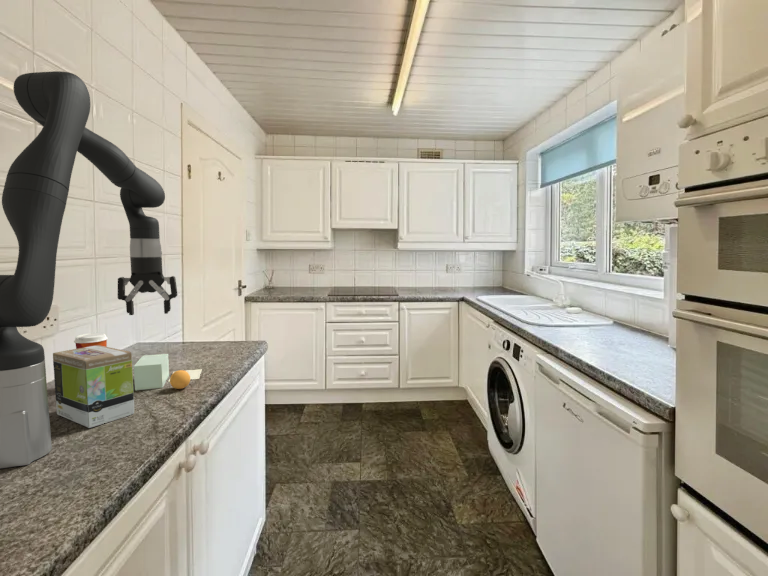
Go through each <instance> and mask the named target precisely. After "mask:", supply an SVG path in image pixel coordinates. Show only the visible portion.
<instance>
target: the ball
mask: <svg viewBox="0 0 768 576" xmlns="http://www.w3.org/2000/svg"><path fill="white" fill-rule="evenodd" d="M173 372H174V371H173ZM173 372H172V373H173ZM169 379H170V382H169V383H170V386H172V388H174V389H176V390H183V389H185V388H187V386H189V384H190V382H191V380H190V375H189V374H188V372H186V370H183V369H179V370H176V372H174V373H173V374H171V375H170V376H169Z"/></svg>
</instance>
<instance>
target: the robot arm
mask: <svg viewBox="0 0 768 576" xmlns="http://www.w3.org/2000/svg"><path fill="white" fill-rule="evenodd" d="M13 94H14V97H15V99H16V101H17V103H18V105H19V106H20V107H21V109H22V110H23V112H25V113H26V114H27V115H28V116H29V117H30V118H31V119H32V120H34V121H35V122H36V123H38V124H39V125H41V126H42V129H41V131H40V132H39V133H38V135H37V136H36V137H35V138H34V139H33V140H32V141H31V142H30V143H29V144H28V145H27V146H26V147H25V148H24V149H23V150H22V151H21V152H20V153H19V155H17V157H16V158H15V159H14V161H13V162H12V163H11V165H10V166H9V169H8V170H7V174H6V178H5V182H4V185H3V190H2V196H1V205H2V209H3V212H4V215H5V217H6V219H7V221H8V224H9V226H10V227H11V229H12V231H13V232H14V235H15V237H16V240H17V244H18V255H17V256H18V257H17V263H16V266H15V271H14V274H0V469H6V468H7V469H8V468H13V467H19V466H20V467H21V466H22V467H23V466H26V465H30V464H31V463H32V462H33V461H36V460H38V459H40V458H42V457H44V456H45V455H47V454H49V453H50V452H51V451H52V449H53V448H52V446H53V445H52V444H53V443H52V434H51V433H52V431H51V423H50V410H49V399H48V397H49V396H48V384H47V371H46V369H47V368H46V359H45V358H46V357H45V349H44V346H43V345H41V344H40V343H38V342H37V341H34V340H31V339H29V338H27V337H25V336H24V335H22V334H21V332H19V331H18V328H29V327H36V326H39V325H40V324H42V323H43V321H45V320H46V318H47V317H48V315H49V314H50V311H51V308H52V304H53V299H54V293H55V291H54V290H55V283H56V282H55V281H56V267H57V254H58V246H59V239H60V234H61V229H62V224H63V219H64V214H65V211H66V207H67V200H68V196H69V192H70V184H71V178H72V174H73V169H74V165H75V161H76V156H77V152H78V153H79V154H80V155H82V156H83V157H84V158H86V160H88V161H89V162H90V163H91V164H92V165H94V166H95V168H97V170H99V172H100V173H102V174H103V175H104V176H105V178H107V179H108V180H109V181H110V182H111V184H113V185H114V186H116V187H118V188H119V189H120V190H119V197H120V201H121V204H122V206H123V209H124V212H125V216H126V218H127V221H128V224H129V238H130V239H129V257H130V277H125V276H120V277H118V278H117V299H118V300H121V301H124V302H125V306H126V307H125V309H126V314H128V315H129V316H133V315H135V307H134V305H135V303H134V300H133V299H134V298H135V297H136V295H138V293H141V294H145V293H156V292H157V294H159V295H160V296H161V297H162V298H163V299H164V300H163V310H164V311H163V312H164V314H165V315H167V314H169V312H170V311H171V308H172V307H171V306H172V305H171V300H172V299H175V298H177V297H178V288H177V279H176V278H177V277H176V276H174V275H171V276H166V277H165V276H164V274H163V259H162V258H163V251H162V245H161V238H160V224H159V222H160V221H159V220H158V219H157V218H155V217H153V216H148V215H146V214H145V213H144V211H143V209H145V208H148V209H153V208H154V209H155V208H159V207H160V206H162V205H163V204H164V202H165V200H166V194H165V191H164V188H163V187H162V185H161V184H160V183H159V182H158V181H157V180H156V179H155V178H154V177H152V176H151V175H149V174H148V173H146V172H145V171H143V170H142V169H140V168H139V167H137V166H136V165H135V163H134V162H133V161H132V160H131V159H130V158H129V157H128V155H127V154H126V153H125V152H124V150H122V149H121V148H120V147H119V146H117V145H116V144H114V143H113V142H112V141H109V140H107V139H106V138H104V137H102V136H101V135H99V134H97V133H95V132H94V131H92V130H90V129H89V128H87V127H86V126H87V123H88V121H89V115H90V112H91V96H90V91H89V89H88V87H87V85H86V83H85V82H84V80H83V79H82V78H81V77H80V76H78V75H76V74H75V73H72V72H68V71H59V70H57V71H39V72H28V73H23V74H20V75H19V76H17V77H16V78H15V80H14V82H13ZM165 282H166V283H167V285H170V294H169V293H168V292H167V290H166V289H165V288H164V287H163V286H162V285H163V284H164V283H165ZM128 283H130V284H131V285H132V286H133V288H132V290H131V291H130V292H129V294H128V295H126V286H128Z"/></svg>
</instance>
